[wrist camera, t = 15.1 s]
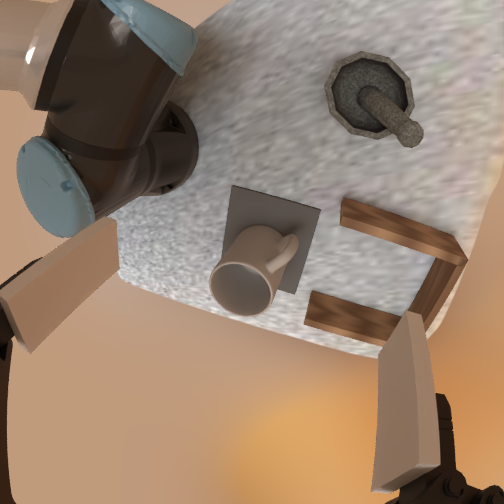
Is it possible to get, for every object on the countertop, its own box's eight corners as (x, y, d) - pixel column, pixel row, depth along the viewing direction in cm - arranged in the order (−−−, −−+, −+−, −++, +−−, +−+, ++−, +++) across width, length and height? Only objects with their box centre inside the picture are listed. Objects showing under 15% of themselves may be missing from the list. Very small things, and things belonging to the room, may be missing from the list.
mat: (220, 269, 52) (219, 270, 51) (232, 185, 44) (231, 186, 44) (295, 293, 50) (294, 294, 49) (320, 209, 42) (320, 210, 42)
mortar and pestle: (312, 92, 35) (299, 89, 25) (361, 45, 30) (369, 24, 20) (374, 155, 36) (386, 177, 26) (424, 110, 31) (454, 116, 21)
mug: (259, 282, 50) (238, 326, 41) (225, 242, 48) (195, 280, 39) (320, 246, 44) (311, 289, 35) (284, 200, 42) (264, 233, 33)
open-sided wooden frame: (310, 296, 49) (303, 324, 43) (343, 197, 40) (342, 215, 34) (406, 324, 46) (410, 353, 41) (453, 236, 37) (468, 259, 31)
